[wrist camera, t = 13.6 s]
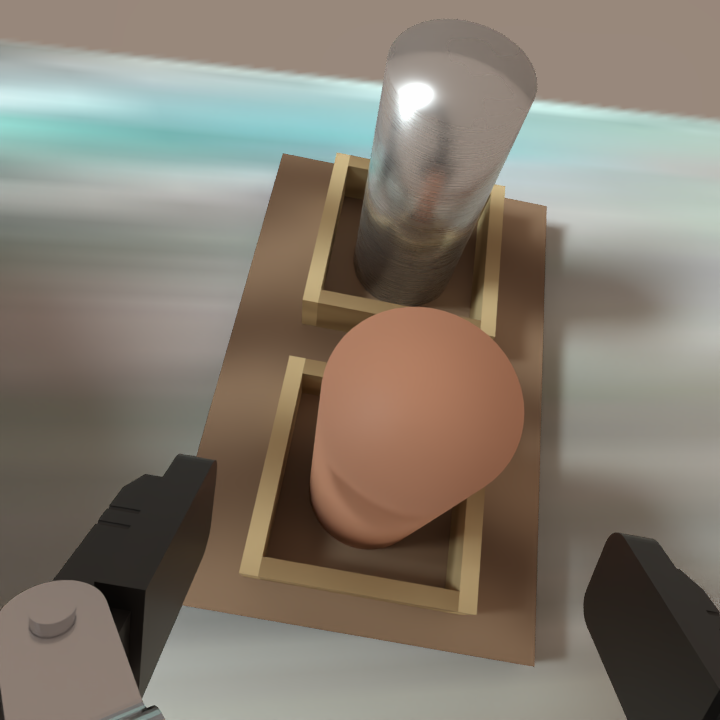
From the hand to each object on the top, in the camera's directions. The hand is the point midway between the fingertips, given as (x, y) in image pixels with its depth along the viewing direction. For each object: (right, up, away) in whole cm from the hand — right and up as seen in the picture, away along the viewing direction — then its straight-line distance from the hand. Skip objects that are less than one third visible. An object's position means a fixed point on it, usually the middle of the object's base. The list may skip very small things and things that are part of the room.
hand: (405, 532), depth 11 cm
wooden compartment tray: (0, +3, +13) cm, 13 cm away
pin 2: (-1, -1, +10) cm, 10 cm away
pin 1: (+1, +8, +14) cm, 16 cm away
